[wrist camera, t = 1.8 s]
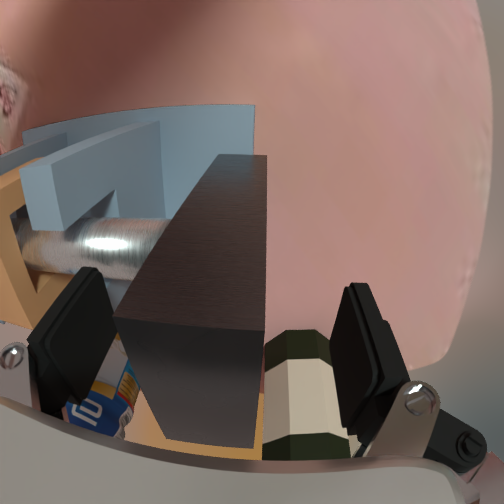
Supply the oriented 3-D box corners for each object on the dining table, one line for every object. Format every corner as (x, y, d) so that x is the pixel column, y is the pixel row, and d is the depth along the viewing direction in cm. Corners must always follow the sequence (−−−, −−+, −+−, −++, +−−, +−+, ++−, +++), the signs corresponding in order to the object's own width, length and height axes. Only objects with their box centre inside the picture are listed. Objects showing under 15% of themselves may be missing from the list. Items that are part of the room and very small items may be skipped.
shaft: (48, 231, 21) (-58, 346, 9) (34, 166, 18) (-103, 261, 6) (262, 240, 21) (253, 448, 8) (266, 155, 18) (264, 330, 5)
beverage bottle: (132, 360, 36) (87, 490, 19) (85, 321, 33) (18, 451, 16) (171, 342, 33) (126, 499, 16) (119, 295, 30) (39, 455, 13)
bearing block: (49, 236, 27) (-30, 319, 15) (29, 129, 21) (-81, 179, 9) (250, 245, 26) (236, 380, 14) (255, 104, 20) (236, 122, 8)
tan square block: (57, 254, 20) (0, 319, 13) (35, 158, 16) (-46, 203, 9) (90, 257, 20) (33, 330, 13) (69, 152, 16) (-17, 199, 9)
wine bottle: (252, 364, 35) (235, 607, 9) (280, 319, 31) (277, 627, 5) (312, 377, 36) (322, 599, 10) (346, 337, 32) (382, 602, 6)
